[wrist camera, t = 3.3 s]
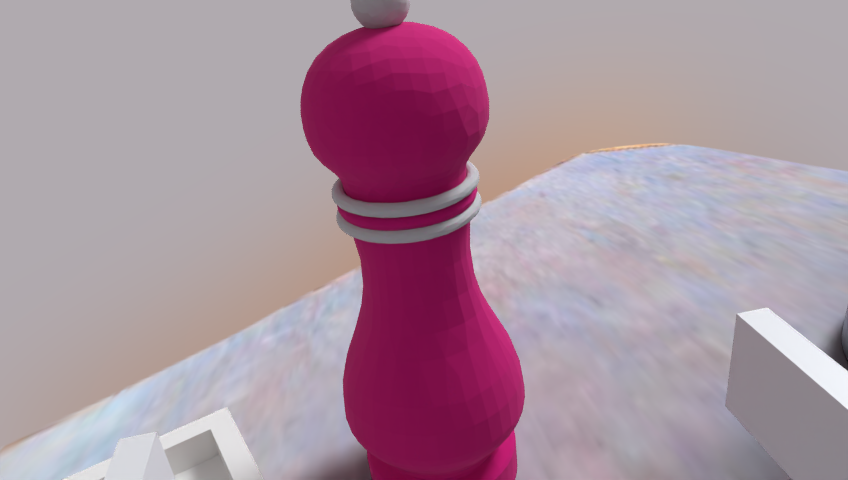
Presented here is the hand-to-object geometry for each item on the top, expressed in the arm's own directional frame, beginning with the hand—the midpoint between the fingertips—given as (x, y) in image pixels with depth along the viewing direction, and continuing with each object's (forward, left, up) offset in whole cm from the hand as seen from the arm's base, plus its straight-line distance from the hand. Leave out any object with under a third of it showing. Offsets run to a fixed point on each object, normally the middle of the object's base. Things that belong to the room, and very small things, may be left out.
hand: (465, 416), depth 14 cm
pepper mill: (-4, -8, -11) cm, 14 cm away
